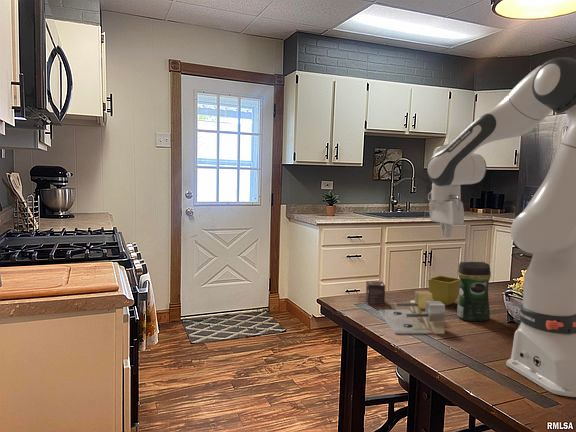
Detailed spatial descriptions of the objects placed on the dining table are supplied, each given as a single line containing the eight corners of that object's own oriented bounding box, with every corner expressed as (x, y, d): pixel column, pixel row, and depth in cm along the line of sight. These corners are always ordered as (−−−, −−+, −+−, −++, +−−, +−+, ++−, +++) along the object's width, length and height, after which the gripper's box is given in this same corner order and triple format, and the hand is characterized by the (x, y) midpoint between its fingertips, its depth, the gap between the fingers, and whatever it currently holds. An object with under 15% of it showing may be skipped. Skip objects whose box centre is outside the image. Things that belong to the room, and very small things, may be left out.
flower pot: (426, 302, 158) (427, 278, 157) (438, 298, 164) (439, 275, 163) (449, 308, 151) (450, 283, 151) (461, 303, 157) (462, 279, 156)
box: (365, 300, 161) (366, 280, 161) (382, 300, 161) (382, 281, 160) (368, 304, 155) (368, 284, 155) (384, 305, 155) (385, 285, 154)
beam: (446, 333, 126) (447, 307, 126) (410, 333, 126) (410, 307, 126) (420, 308, 150) (421, 286, 150) (390, 308, 150) (390, 286, 150)
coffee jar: (482, 314, 144) (485, 259, 143) (492, 322, 136) (495, 264, 135) (453, 314, 145) (455, 259, 143) (461, 321, 137) (463, 264, 135)
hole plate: (428, 333, 126) (429, 330, 126) (394, 333, 126) (395, 330, 126) (409, 312, 146) (409, 309, 146) (379, 312, 146) (379, 309, 146)
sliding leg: (431, 309, 139) (432, 294, 139) (398, 309, 139) (399, 294, 138) (427, 305, 143) (428, 290, 143) (395, 305, 143) (395, 291, 142)
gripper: (469, 195, 131) (469, 240, 132) (443, 194, 152) (443, 233, 152) (449, 195, 131) (449, 240, 132) (425, 195, 151) (426, 234, 152)
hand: (446, 237), depth 142 cm, fingers closed
